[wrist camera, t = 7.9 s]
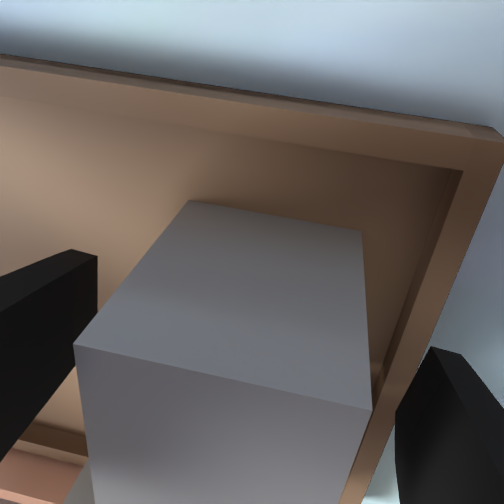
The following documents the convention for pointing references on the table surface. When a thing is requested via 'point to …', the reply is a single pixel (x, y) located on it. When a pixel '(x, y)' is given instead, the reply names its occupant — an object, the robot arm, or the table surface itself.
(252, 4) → the table surface
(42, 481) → the terracotta bin
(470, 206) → the walnut tray
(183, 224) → the block
